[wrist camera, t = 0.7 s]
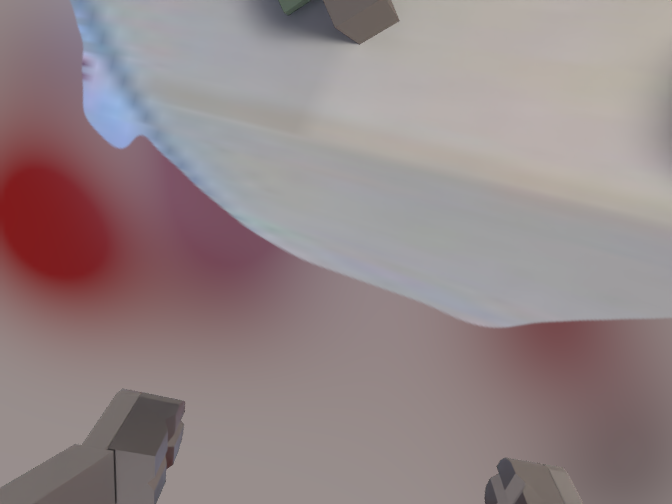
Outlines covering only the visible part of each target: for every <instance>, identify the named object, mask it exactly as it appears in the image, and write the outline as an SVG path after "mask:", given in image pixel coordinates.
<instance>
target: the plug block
mask: <svg viewBox="0 0 672 504" xmlns="http://www.w3.org/2000/svg"><path fill="white" fill-rule="evenodd" d="M323 1H324V4H325V6H326V8H327V10H328V13H329V15H330V17H331V20H332V22H333V24H334V26H335V28H336V29H338V30H339V31H341V32H342V33H344V34H345V35H346V36H348V37H349V38H351V39H352V40H354V41H355V42H357V43H358V44H359V45H360V44H361V43H363V42H365V41H366V40H368V39H370V38H371V37H373V36H375V35H377V34H378V33H380V32H382V31H383V30H385V29H387V28H388V27H390V26H392V25H393V24H395V23H397V22H399V18H398V16H397V14H396V11H395V9H394V6H393V4H392V1H391V0H323Z"/></svg>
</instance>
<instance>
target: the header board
mask: <svg viewBox="0 0 672 504" xmlns="http://www.w3.org/2000/svg"><path fill="white" fill-rule="evenodd" d="M278 1H279V3H280V5H281V7H282V9H283V11H284V13H285V14H287V15H290V14H291V13H293V12H294V11H296V10H297V9H299V8H300V7H302V6H303V5H305V4H306V3H308V2H309V1H311V0H278Z"/></svg>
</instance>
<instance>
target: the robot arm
mask: <svg viewBox="0 0 672 504" xmlns="http://www.w3.org/2000/svg"><path fill="white" fill-rule="evenodd" d="M184 412H185V401H182V400H178V399H173V398H168V397H163V396H158V395H153V394H149V393H143V392H137V391H132V390H127V389H122V390H121V391H119V392H118V393H117V394H116V395H115V397H114V398H113V400H112V401H111V403H110V404H109V406H108V407H107V408H106V410H105V412H104V413H103V414H102V416H101V417H100V419H99V420H98V422H97V423H96V425H95V426H94V428H93V429H92V431H91V432H90V433H89V435H88V437H87V438H86V439H85V441H84V442H83V444H82V445H77V444H74V445H73V446H71V447H69V448H68V449H66V450H64V451H63V452H61V453H59V454H57V455H56V456H54V457H52V458H50V459H49V460H47V461H45V462H44V463H42V464H40V465H38V466H37V467H35V468H33V469H32V470H30V471H28V472H26V473H25V474H23V475H21V476H20V477H18V478H16V479H14V480H13V481H11V482H9V483H8V484H6V485H4V486H2V487H1V488H0V504H156V503H157V501H158V498H159V496H160V494H161V491H162V489H163V487H164V484H165V482H166V469H168V468H169V467H170V466H172V465H173V463H174V461H175V458H176V456H177V454H178V451H179V447H180V444H181V441H182V436H183V430H184V424H183V422H182V421H181V419H182V417H183V414H184ZM497 469H498V472H499V474H497V475H495V476H493V477H491V478H490V479H489V481H488V484H487V485H486V489H485V504H583V502H582V500H581V498H580V496H579V494H578V493H577V490H576V489H575V487H574V485H573V483H572V481H571V479H570V477H569V475H568V473H567V472H566V471H565V470H564V469H563V468H562V467H557V466H551V465H545V464H540V463H535V462H529V461H523V460H517V459H511V458H503V459H502V460H500V462H499V464H498V465H497Z"/></svg>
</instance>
